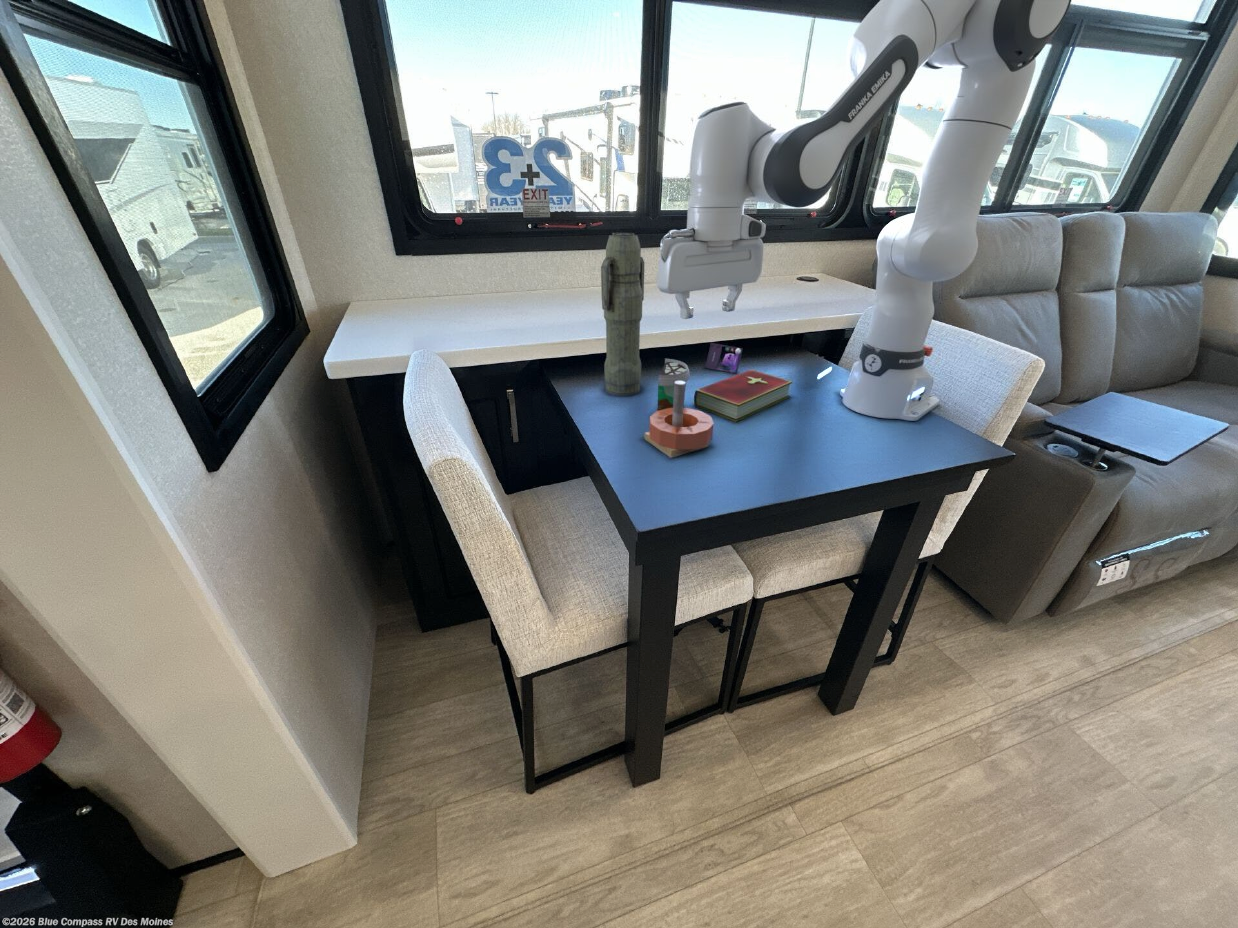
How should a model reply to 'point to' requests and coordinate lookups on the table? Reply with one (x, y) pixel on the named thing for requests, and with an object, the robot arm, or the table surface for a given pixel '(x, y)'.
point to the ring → (681, 429)
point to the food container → (670, 381)
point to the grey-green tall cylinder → (622, 312)
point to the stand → (675, 421)
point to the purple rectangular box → (728, 359)
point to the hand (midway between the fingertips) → (707, 314)
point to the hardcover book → (742, 394)
